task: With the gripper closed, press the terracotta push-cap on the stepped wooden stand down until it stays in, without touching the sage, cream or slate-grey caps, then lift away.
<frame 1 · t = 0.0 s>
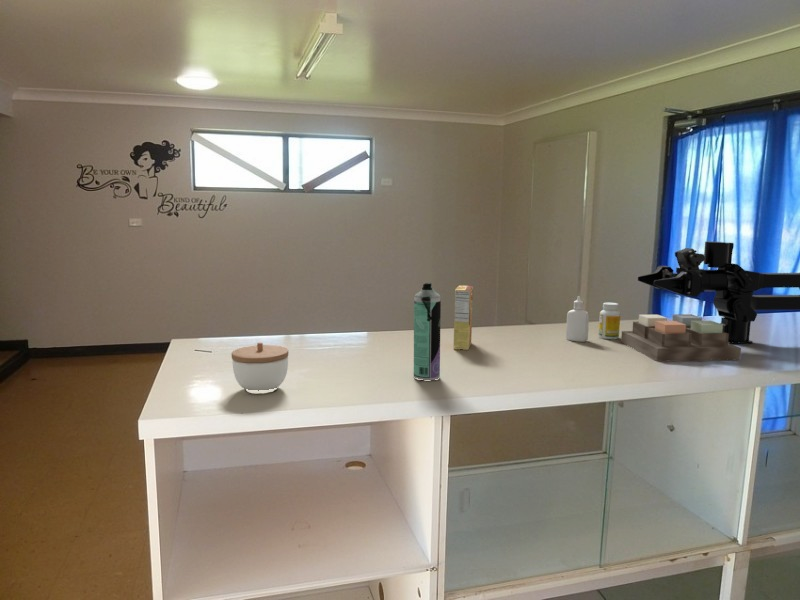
hand: (645, 280, 155), 17 cm above the table, tool horizontal, fingers open, 9 cm apart
lidded jar: (261, 390, 115), on the table
cap terracotta: (669, 328, 142), point 6 cm above the table, slide at 0.0 cm
cap cream: (652, 322, 151), point 6 cm above the table, slide at 0.0 cm
spray can: (426, 378, 123), on the table
eye dropper bottle: (576, 340, 160), on the table
cap slate: (686, 321, 151), point 6 cm above the table, slide at 0.0 cm
supplement bottle: (608, 338, 163), on the table
stepped wooden stand: (676, 350, 148), on the table
candy box: (462, 346, 152), on the table
cap sage: (706, 328, 143), point 6 cm above the table, slide at 0.0 cm
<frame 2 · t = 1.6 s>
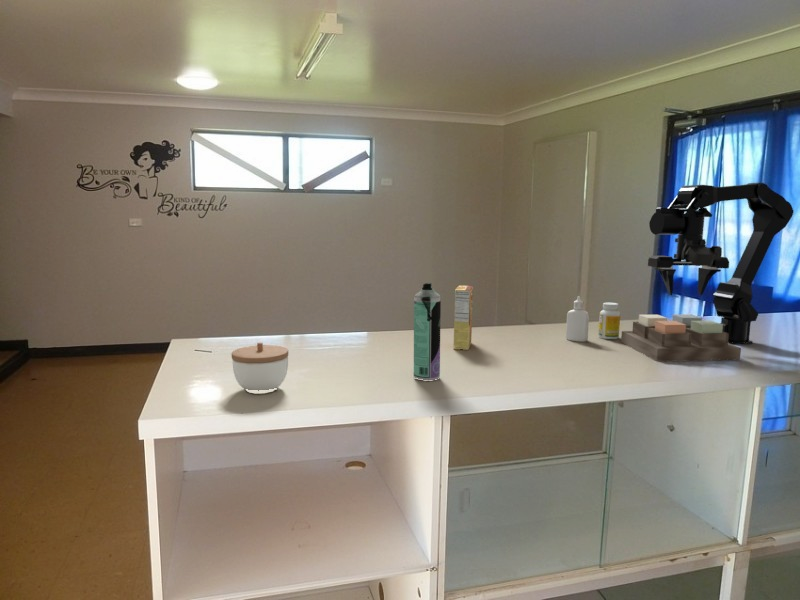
hand: (685, 295, 153), 13 cm above the table, tool pointing down, fingers open, 8 cm apart
nothing on the table moved.
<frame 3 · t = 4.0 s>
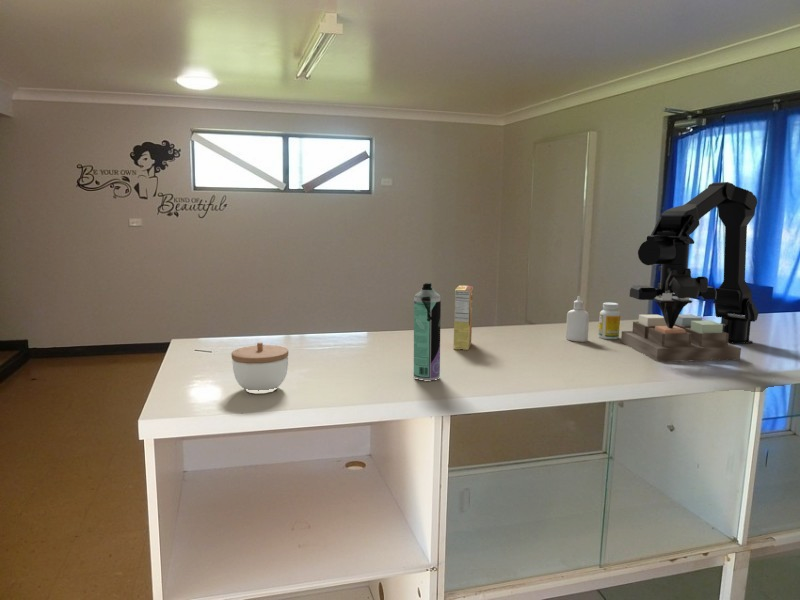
hand: (670, 327, 142), 7 cm above the table, tool pointing down, fingers closed, pressing on cap terracotta
cap terracotta: (669, 333, 142), point 5 cm above the table, slide at 1.2 cm, touching gripper
everything else where it was.
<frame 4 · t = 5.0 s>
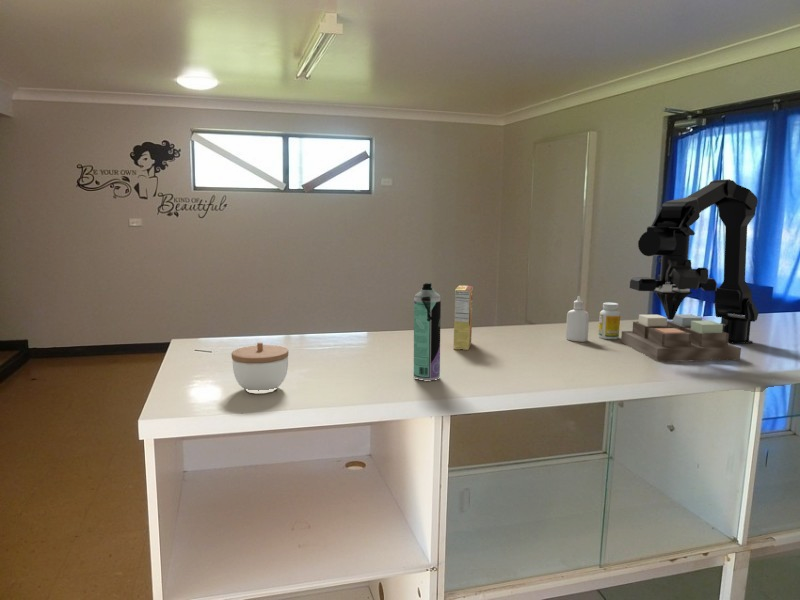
hand: (670, 319, 142), 9 cm above the table, tool pointing down, fingers closed
cap terracotta: (669, 336, 142), point 5 cm above the table, slide at 1.9 cm
everything else where it was.
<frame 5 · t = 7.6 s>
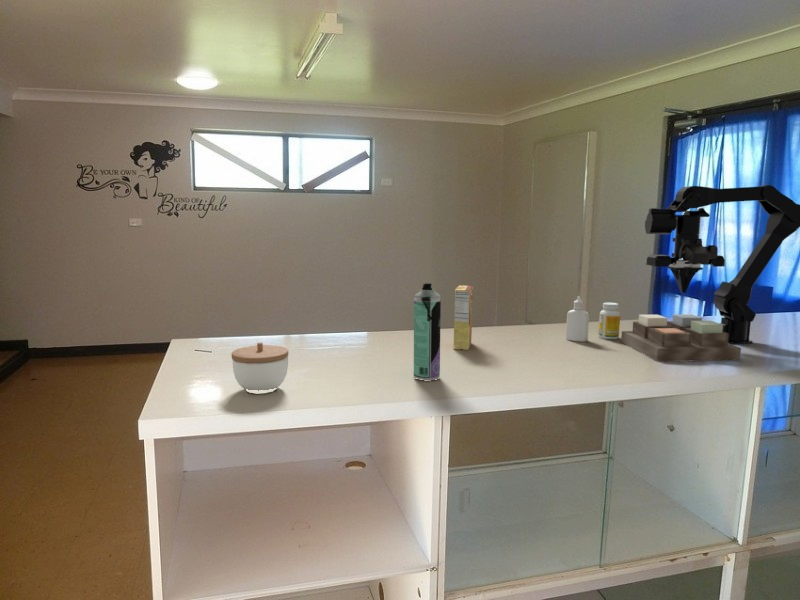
hand: (682, 292, 158), 13 cm above the table, tool pointing down, fingers closed
nothing on the table moved.
at the end: cap terracotta slide at 1.9 cm; cap sage slide at 0.0 cm; cap cream slide at 0.0 cm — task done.
